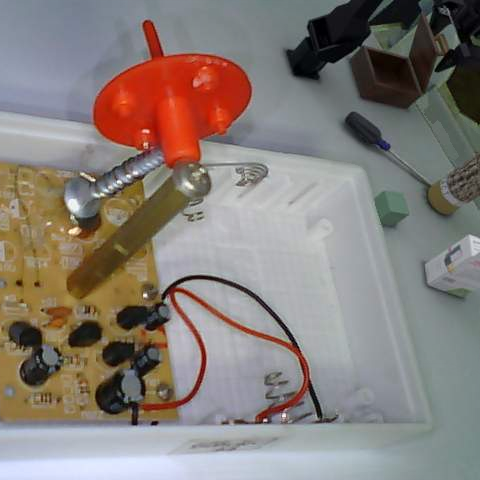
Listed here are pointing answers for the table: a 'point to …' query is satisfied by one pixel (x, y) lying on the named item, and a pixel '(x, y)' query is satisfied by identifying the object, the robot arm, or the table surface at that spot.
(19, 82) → the table surface
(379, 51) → the chest
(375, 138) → the screwdriver
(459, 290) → the ink box
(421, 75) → the lid
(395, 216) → the block
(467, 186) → the canister
